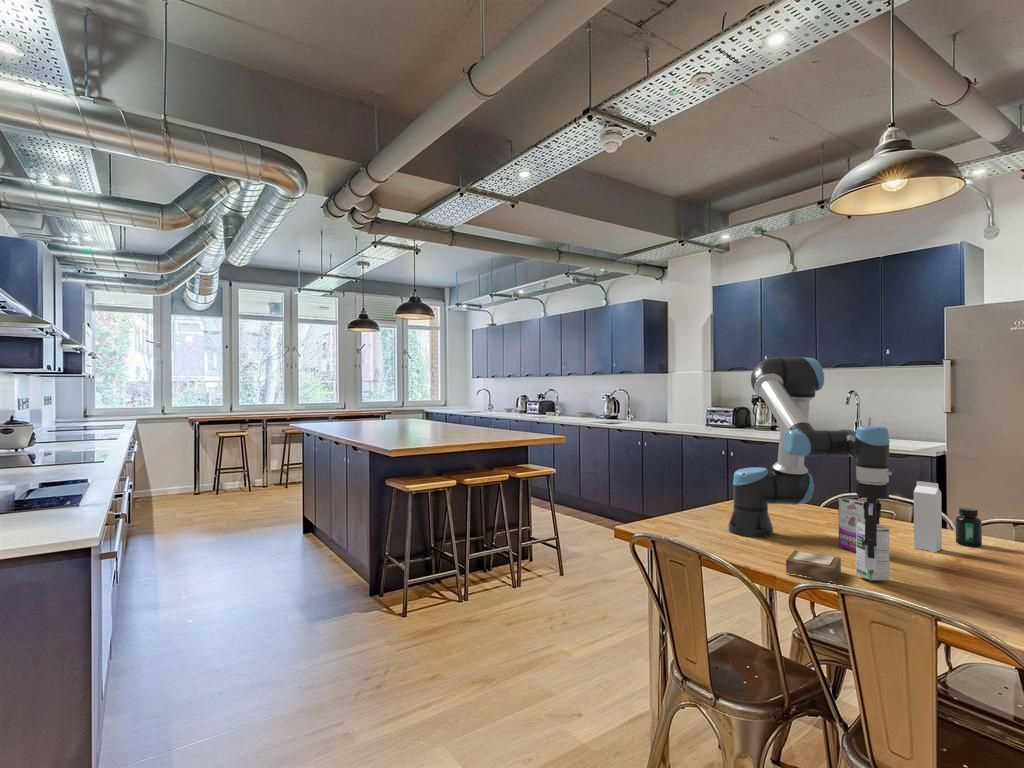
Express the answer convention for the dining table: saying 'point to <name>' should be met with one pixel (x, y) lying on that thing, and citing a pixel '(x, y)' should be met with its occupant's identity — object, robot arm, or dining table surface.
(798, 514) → the dining table surface
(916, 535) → the milk
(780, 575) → the dining table surface
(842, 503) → the candy bar box
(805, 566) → the plinth
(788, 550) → the dining table surface
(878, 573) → the syrup box
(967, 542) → the supplement bottle
